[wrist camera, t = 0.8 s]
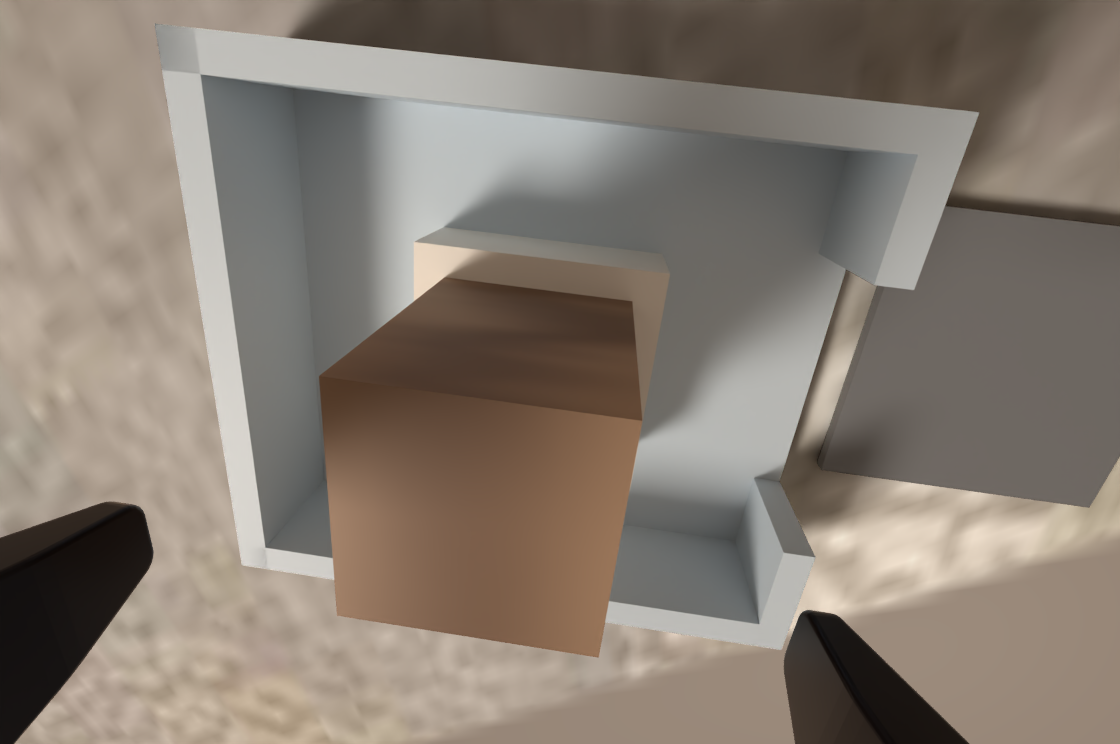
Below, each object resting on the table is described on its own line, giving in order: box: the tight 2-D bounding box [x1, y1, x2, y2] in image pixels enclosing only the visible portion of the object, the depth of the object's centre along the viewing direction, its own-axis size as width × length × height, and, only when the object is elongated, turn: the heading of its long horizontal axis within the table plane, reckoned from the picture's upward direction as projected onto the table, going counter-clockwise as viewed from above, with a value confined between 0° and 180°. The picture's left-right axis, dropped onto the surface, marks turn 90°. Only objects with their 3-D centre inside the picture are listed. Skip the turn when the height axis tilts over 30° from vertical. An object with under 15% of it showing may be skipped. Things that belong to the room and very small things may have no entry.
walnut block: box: [319, 277, 642, 657], centre depth 11 cm, size 4×4×6 cm
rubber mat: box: [817, 206, 1120, 508], centre depth 15 cm, size 8×8×1 cm
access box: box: [155, 24, 979, 650], centre depth 15 cm, size 16×14×4 cm
